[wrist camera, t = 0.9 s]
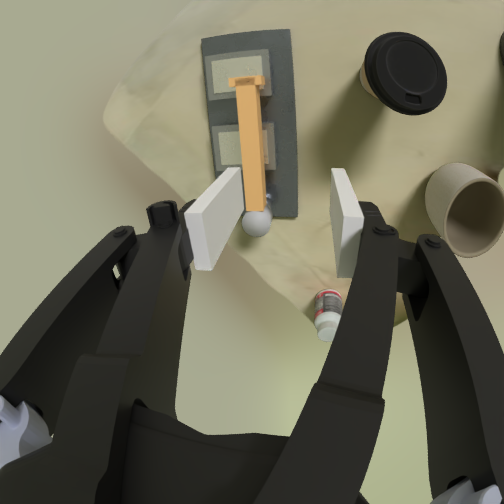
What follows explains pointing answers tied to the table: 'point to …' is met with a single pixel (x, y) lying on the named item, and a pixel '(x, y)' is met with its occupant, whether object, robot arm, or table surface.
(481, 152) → the table surface
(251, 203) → the swing arm
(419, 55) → the coffee cup
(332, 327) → the pill bottle
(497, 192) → the planter
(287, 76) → the grey switch panel
